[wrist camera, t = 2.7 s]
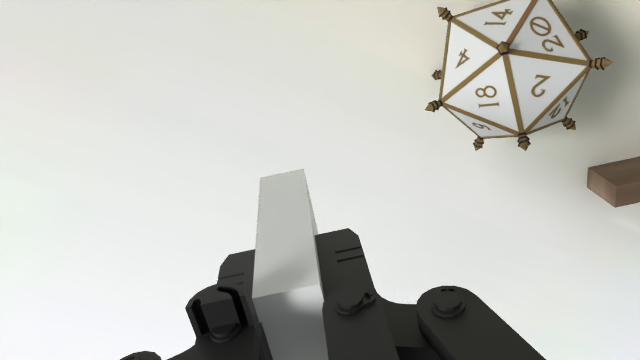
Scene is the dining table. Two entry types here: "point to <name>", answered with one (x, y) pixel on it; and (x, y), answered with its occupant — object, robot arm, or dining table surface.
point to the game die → (512, 69)
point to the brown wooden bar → (616, 181)
